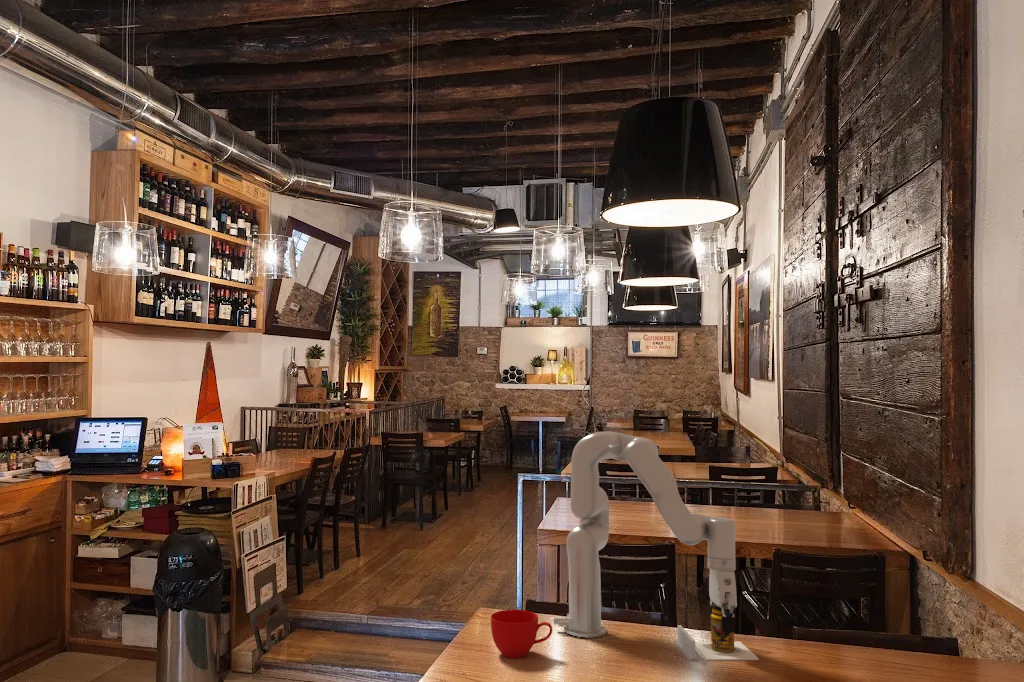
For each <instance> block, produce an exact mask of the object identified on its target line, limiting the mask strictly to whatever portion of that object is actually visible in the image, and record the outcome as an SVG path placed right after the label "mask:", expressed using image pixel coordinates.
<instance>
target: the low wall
mask: <svg viewBox="0 0 1024 682" xmlns="http://www.w3.org/2000/svg"><path fill="white" fill-rule="evenodd" d="M676 629H677V641H673V643H674V645H675V646H676V648H677V649H678V650H679V652H681V654H682V655H683V657H685V659H686V660H687V661H688V662H691V661H692V662H693V661H694V662H697V661H698V662H700V657H699V656H698V655H697V654H696V653H697V652H696V648H695V642H696V641H695V639H694V638H693V637H692V636H691V635H690V633H689V632H687V630H686V629H685V628H684V627H683V626H682V625H681V624H680V625H679V624H678V625H677V627H676Z"/></svg>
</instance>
